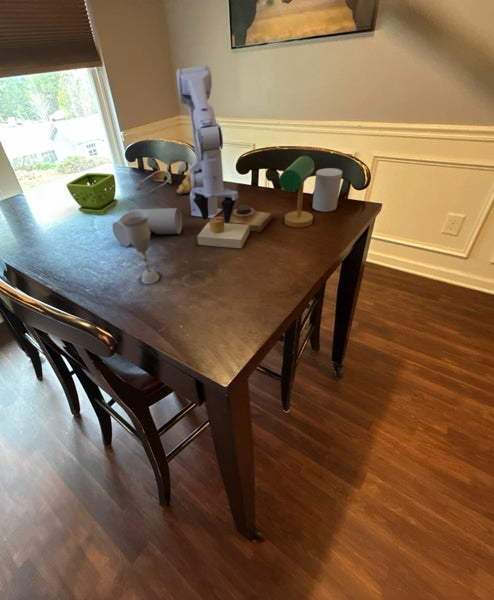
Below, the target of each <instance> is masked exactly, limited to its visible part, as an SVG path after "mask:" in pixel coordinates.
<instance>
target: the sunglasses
mask: <svg viewBox="0 0 494 600" xmlns="http://www.w3.org/2000/svg"><path fill="white" fill-rule="evenodd" d="M152 177H153V180H154V182H163V183H162V184H160V185H158V186H157V187H156V188H154V189H153V190H152V191H150V193H154V192H156V191H157V190H158V189H160V188H161V187H163V186H165V185H166V184H167V183H169V184H170V185H172V183H173V182H172V177H171V173H170V172H169V171H168V170H157V171H154V172H153V173H152V174H150V175H148V176H147V177H145V178H144V179H143V180H141V181H140V182H139V184H138V185H137V186H138V187H137V190H139V189H140V187H141V185H142V184H143V183H144V182H145V181H146V180H148V179H151V178H152Z"/></svg>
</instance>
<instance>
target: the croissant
mask: <svg viewBox="0 0 494 600" xmlns="http://www.w3.org/2000/svg"><path fill="white" fill-rule="evenodd" d="M191 189H192V186H191V180H190V173H188V174H187V175H186V176H185V178H184V179H183V180H182V181H181V183H180V184H179V186H178V188H177V189H176V193H177V194H178V195H185V194H190V193H191V191H192V190H191Z"/></svg>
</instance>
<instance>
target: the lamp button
mask: <svg viewBox="0 0 494 600" xmlns="http://www.w3.org/2000/svg"><path fill="white" fill-rule="evenodd" d="M250 208H251V206H250V205H249V204H240V205H238V206H237V207H236V209H237V213H238V214H242V215H243V214H249V213H250Z"/></svg>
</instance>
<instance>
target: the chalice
mask: <svg viewBox="0 0 494 600" xmlns="http://www.w3.org/2000/svg"><path fill="white" fill-rule="evenodd" d="M147 218H148V213H147V212H144V211H129V212H127V213H124V215H122V216H121V217H120V219H119V220H120V221H121V222H122V223H123V225H124V228H125V232H126V235H127V238H128V240H129V241H130V243H131V246H132V247H133V248H134V249H135V250H136V251H137V252H138V253H141V259H142V260H143V263H142V265H143V266H144V267H145V269H144V270H143V272H142V275H141V279H140V281H141V283H142V284H145V285H146V284H147V285H149V284H154V283H156V282H157V281H158V280H159V279H160V275H159V274H158V273H157V271H156V270H155V269H154V268H151V267H150V261H148V255H147V254H146V252H147V251H148V250H149V246H150V241H151V234H150V230H149V225H148V221H147Z"/></svg>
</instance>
